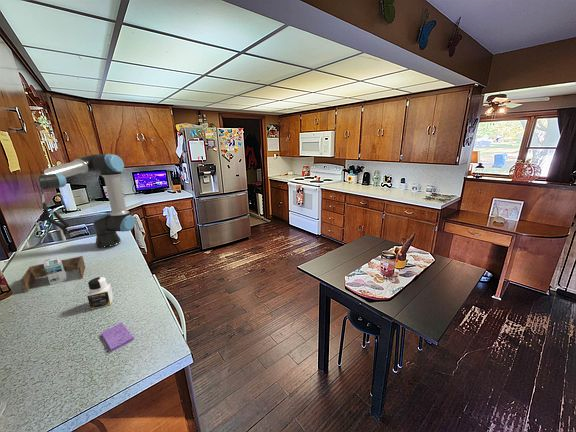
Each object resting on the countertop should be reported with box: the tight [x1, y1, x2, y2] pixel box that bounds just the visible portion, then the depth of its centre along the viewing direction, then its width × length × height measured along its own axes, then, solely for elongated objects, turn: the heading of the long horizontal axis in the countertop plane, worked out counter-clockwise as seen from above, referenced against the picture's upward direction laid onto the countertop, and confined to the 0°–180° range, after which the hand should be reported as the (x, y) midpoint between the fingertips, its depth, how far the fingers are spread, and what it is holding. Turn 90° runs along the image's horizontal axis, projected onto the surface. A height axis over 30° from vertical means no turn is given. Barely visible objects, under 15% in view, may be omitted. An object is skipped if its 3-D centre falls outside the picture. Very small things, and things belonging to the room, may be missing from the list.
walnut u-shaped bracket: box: [20, 255, 86, 293], centre depth 126 cm, size 22×17×7 cm
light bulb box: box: [43, 256, 68, 286], centre depth 125 cm, size 11×7×11 cm, turn 47°
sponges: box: [100, 321, 135, 353], centre depth 86 cm, size 7×13×2 cm, turn 51°
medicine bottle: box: [86, 276, 114, 310], centre depth 104 cm, size 7×7×12 cm
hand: (46, 243), depth 121 cm, fingers open, 13 cm apart
